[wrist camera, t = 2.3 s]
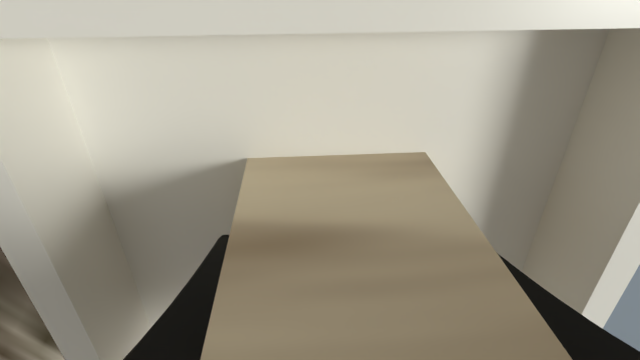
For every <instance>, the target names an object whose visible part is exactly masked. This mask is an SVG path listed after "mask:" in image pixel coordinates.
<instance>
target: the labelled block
mask: <svg viewBox="0 0 640 360" xmlns="http://www.w3.org/2000/svg"><path fill="white" fill-rule="evenodd" d="M200 360H572V358H571V357H570V355H569V354H568V353H567V351H566V350H565V348H564V347H563V346H562V344H561V343H560V341H559V340H558V339H557V337H556V336H555V334H554V333H553V332H552V330H551V329H550V327H549V326H548V324H547V323H546V322H545V320H544V319H543V317H542V316H541V315H540V313H539V312H538V310H537V309H536V308H535V306H534V305H533V303H532V302H531V300H530V299H529V298H528V296H527V295H526V293H525V292H524V291H523V289H522V288H521V286H520V285H519V284H518V282H517V281H516V279H515V278H514V277H513V275H512V274H511V272H510V271H509V269H508V268H507V267H506V265H505V264H504V262H503V261H502V260H501V258H500V257H499V255H498V254H497V253H496V251H495V250H494V248H493V247H492V245H491V244H490V243H489V241H488V240H487V238H486V237H485V236H484V234H483V233H482V231H481V230H480V229H479V227H478V226H477V224H476V223H475V222H474V220H473V219H472V217H471V216H470V214H469V213H468V212H467V210H466V209H465V207H464V206H463V205H462V203H461V202H460V200H459V199H458V198H457V196H456V195H455V193H454V192H453V190H452V189H451V188H450V186H449V185H448V183H447V182H446V181H445V179H444V178H443V176H442V175H441V174H440V172H439V171H438V169H437V168H436V167H435V165H434V164H433V162H432V161H431V159H430V158H429V157H428V155H427V154H426V152H414V153H385V154H355V155H326V156H296V157H267V158H247V162H246V167H245V171H244V175H243V180H242V184H241V188H240V192H239V197H238V201H237V205H236V209H235V214H234V218H233V222H232V226H231V231H230V235H229V239H228V244H227V248H226V252H225V256H224V261H223V265H222V269H221V273H220V278H219V282H218V286H217V290H216V295H215V299H214V303H213V308H212V312H211V316H210V320H209V325H208V329H207V333H206V337H205V342H204V346H203V350H202V354H201V359H200Z"/></svg>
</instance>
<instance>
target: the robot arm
mask: <svg viewBox="0 0 640 360" xmlns="http://www.w3.org/2000/svg"><path fill="white" fill-rule="evenodd" d="M228 239H229V235H222V236H221V237H220V238H218V240H217V241H216V243H215V244H214V246H213V247H212V249H211V250H210V252H209V253H208V255H207V256H206V257H205V259H204V260H203V262H202V263H201V265H200V266H199V267H198V269H197V270H196V271H195V273H194V274H193V276H192V277H191V278H190V280H189V281H188V282H187V284H186V285H185V286H184V287H183V289H182V290H181V291H180V293H179V294H178V295H177V297H176V298H175V299H174V300H173V302H172V303H171V304H170V306H169V307H168V308H167V309H166V310H165V312H164V313H163V314H162V315H161V316H160V318H159V319H158V320H157V321H156V322H155V323H154V325H153V326H152V327H151V328H150V329H149V331H148V332H147V333H146V334H145V335H144V336H143V338H142V339H141V340H140V341H139V342H138V343H137V344H136V346H135V347H134V348H133V349H132V350H131V351H130V352H129V353H128V354H127V355H126V357H125V358H124V359H123V360H200V359H201V354H202V350H203V346H204V342H205V337H206V333H207V329H208V325H209V320H210V316H211V312H212V308H213V303H214V299H215V295H216V290H217V286H218V282H219V278H220V273H221V269H222V265H223V261H224V256H225V252H226V248H227V244H228ZM496 253H497V252H496ZM497 254H498V253H497ZM498 255H499V254H498ZM499 257H500V258H501V260H502V261H503V262H504V264H505V265H506V267H507V268H508V269H509V271H510V272H511V274H512V275H513V277H514V278H515V279H516V281H517V282H518V284H519V285H520V286H521V288H522V289H523V291H524V292H525V293H526V295H527V296H528V298H529V299H530V300H531V302H532V303H533V305H534V306H535V308H536V309H537V310H538V312H539V313H540V315H541V316H542V317H543V319H544V320H545V322H546V323H547V324H548V326H549V327H550V329H551V330H552V332H553V333H554V334H555V336H556V337H557V339H558V340H559V341H560V343H561V344H562V346H563V347H564V348H565V350H566V351H567V353H568V354H569V355H570V357H571V358H572V360H640V351H638V350H636V349H635V348H633V347H632V346H630V345H628V344H627V343H625V342H623V341H622V340H620V339H618V338H617V337H615V336H613V335H612V334H610V333H609V332H607V331H606V330H604V329H602V328H601V327H599V326H598V325H596V324H595V323H593V322H592V321H590V320H589V319H587V318H586V317H584V316H583V315H581V314H580V313H578V312H577V311H576V310H574V309H573V308H571V307H570V306H568V305H567V304H565V303H564V302H562V301H561V300H559V299H558V298H557V297H555V296H554V295H552V294H551V293H550V292H548V291H547V290H545V289H544V288H543V287H541V286H540V285H539V284H537V283H536V282H535V281H533V280H532V279H530V278H529V277H528V276H527V275H525V274H524V273H523V272H521V271H520V270H519V269H517V268H516V267H515V266H513V265H512V264H511V263H509V262H508V261H507V260H506V259H504V258H503V257H502V256H500V255H499Z"/></svg>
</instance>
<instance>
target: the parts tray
mask: <svg viewBox="0 0 640 360" xmlns="http://www.w3.org/2000/svg"><path fill="white" fill-rule="evenodd" d="M414 152H426V154H427V155H428V157H429V158H430V159H431V161H432V162H433V164H434V165H435V167H436V168H437V169H438V171H439V172H440V174H441V175H442V176H443V178H444V179H445V181H446V182H447V183H448V185H449V186H450V188H451V189H452V190H453V192H454V193H455V195H456V196H457V198H458V199H459V200H460V202H461V203H462V205H463V206H464V207H465V209H466V210H467V212H468V213H469V214H470V216H471V217H472V219H473V220H474V222H475V223H476V224H477V226H478V227H479V229H480V230H481V231H482V233H483V234H484V236H485V237H486V238H487V240H488V241H489V243H490V244H491V245H492V247H493V248H494V250H495V251H496V252H497V253H498V254H499V255H500V256H502V257H503V258H504V259H506V260H507V261H508V262H509V263H511V264H512V265H513V266H515V267H516V268H517V269H519V270H520V271H521V272H523V273H524V274H525V275H527V276H528V277H529V278H530V279H532V280H533V281H535V282H536V283H537V284H539V285H540V286H541V287H543V288H544V289H545V290H547V291H548V292H550V293H551V294H552V295H554V296H555V297H557V298H558V299H559V300H561V301H562V302H564V303H565V304H567V305H568V306H570V307H571V308H573V309H574V310H576V311H577V312H578V313H580V314H581V315H583V316H584V317H586V318H587V319H589V320H590V321H592V322H593V323H595V324H596V325H598V326H599V327H601V328H602V329H603V327H604V325H605V324H606V322H607V320H608V318H609V317H610V315H611V313H612V312H613V310H614V308H615V306H616V305H617V303H618V301H619V299H620V298H621V296H622V294H623V292H624V291H625V289H626V287H627V286H628V284H629V282H630V280H631V279H632V277H633V275H634V273H635V272H636V270H637V268H638V266H639V265H640V0H0V247H1V249H2V251H3V252H4V254H5V256H6V258H7V259H8V261H9V263H10V265H11V266H12V268H13V270H14V272H15V273H16V275H17V277H18V279H19V280H20V282H21V284H22V286H23V287H24V289H25V291H26V292H27V294H28V296H29V298H30V299H31V301H32V303H33V305H34V306H35V308H36V310H37V312H38V313H39V315H40V317H41V319H42V320H43V322H44V324H45V326H46V327H47V329H48V331H49V333H50V334H51V336H52V338H53V340H54V341H55V343H56V345H57V346H58V348H59V350H60V352H61V353H62V355H63V357H64V359H65V360H123V359H124V358H125V357H126V355H127V354H128V353H129V352H130V351H131V350H132V349H133V348H134V347H135V346H136V344H137V343H138V342H139V341H140V340H141V339H142V338H143V336H144V335H145V334H146V333H147V332H148V331H149V329H150V328H151V327H152V326H153V325H154V323H155V322H156V321H157V320H158V319H159V318H160V316H161V315H162V314H163V313H164V312H165V310H166V309H167V308H168V307H169V306H170V304H171V303H172V302H173V300H174V299H175V298H176V297H177V295H178V294H179V293H180V291H181V290H182V289H183V287H184V286H185V285H186V284H187V282H188V281H189V280H190V278H191V277H192V276H193V274H194V273H195V271H196V270H197V269H198V267H199V266H200V265H201V263H202V262H203V260H204V259H205V257H206V256H207V255H208V253H209V252H210V250H211V249H212V247H213V246H214V244H215V243H216V241H217V240H218V238H220V237H221V236H222V235H230V231H231V226H232V222H233V218H234V214H235V209H236V205H237V201H238V197H239V192H240V188H241V184H242V180H243V175H244V171H245V167H246V162H247V158H267V157H296V156H326V155H355V154H385V153H414Z"/></svg>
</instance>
